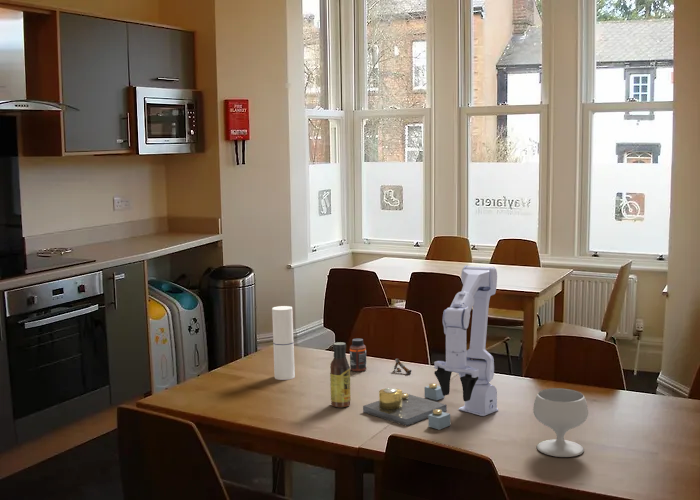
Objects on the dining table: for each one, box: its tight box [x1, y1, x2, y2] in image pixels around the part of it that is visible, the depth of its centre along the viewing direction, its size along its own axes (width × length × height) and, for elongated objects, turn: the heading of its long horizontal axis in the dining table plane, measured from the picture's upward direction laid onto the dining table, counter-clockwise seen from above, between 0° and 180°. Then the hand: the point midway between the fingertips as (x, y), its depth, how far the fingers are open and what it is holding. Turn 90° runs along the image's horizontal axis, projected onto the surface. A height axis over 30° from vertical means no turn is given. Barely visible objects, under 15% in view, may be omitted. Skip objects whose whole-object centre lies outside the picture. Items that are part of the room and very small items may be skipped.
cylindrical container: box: [271, 305, 296, 381], centre depth 285 cm, size 7×7×25 cm
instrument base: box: [362, 387, 448, 427], centre depth 245 cm, size 18×18×7 cm
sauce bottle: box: [329, 341, 352, 409], centre depth 252 cm, size 6×6×20 cm
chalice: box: [532, 387, 589, 458], centre depth 212 cm, size 14×14×15 cm
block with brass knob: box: [427, 409, 451, 431], centre depth 232 cm, size 4×5×4 cm
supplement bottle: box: [349, 338, 367, 373], centre depth 293 cm, size 6×6×11 cm
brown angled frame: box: [393, 358, 412, 376], centre depth 289 cm, size 2×8×4 cm, turn 39°
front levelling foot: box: [424, 382, 446, 401], centre depth 258 cm, size 5×4×4 cm
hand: (456, 397), depth 226 cm, fingers open, 7 cm apart
